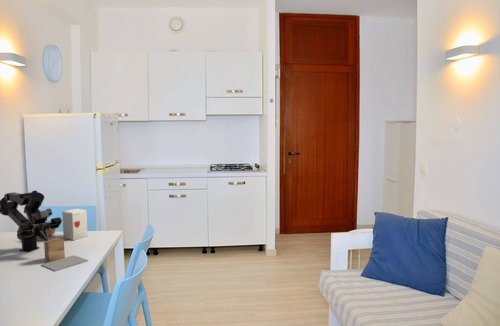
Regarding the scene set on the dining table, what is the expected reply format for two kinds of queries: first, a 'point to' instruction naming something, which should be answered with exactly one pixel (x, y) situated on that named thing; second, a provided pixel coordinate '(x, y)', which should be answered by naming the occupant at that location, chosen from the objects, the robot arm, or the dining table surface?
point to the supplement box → (74, 224)
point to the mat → (64, 263)
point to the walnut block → (54, 249)
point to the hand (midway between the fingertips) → (47, 240)
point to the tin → (50, 233)
